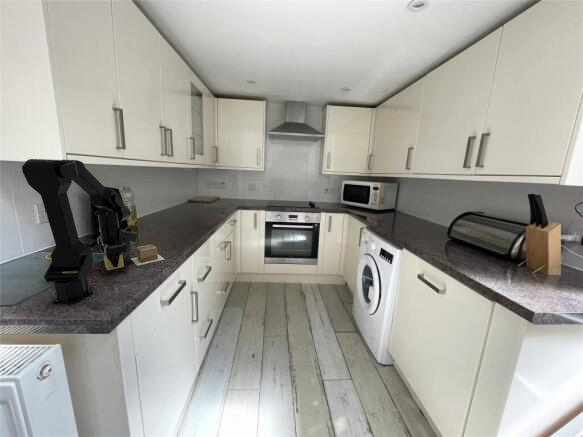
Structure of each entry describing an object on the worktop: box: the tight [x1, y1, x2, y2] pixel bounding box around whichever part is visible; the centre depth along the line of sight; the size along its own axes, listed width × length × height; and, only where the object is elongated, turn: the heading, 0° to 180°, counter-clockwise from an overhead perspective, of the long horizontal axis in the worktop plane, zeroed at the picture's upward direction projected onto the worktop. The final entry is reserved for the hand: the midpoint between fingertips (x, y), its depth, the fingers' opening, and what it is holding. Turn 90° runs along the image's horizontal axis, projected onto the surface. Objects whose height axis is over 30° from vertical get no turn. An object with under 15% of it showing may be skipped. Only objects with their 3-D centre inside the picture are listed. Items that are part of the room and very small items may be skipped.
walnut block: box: [136, 244, 158, 263], centre depth 97 cm, size 6×6×5 cm
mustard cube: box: [103, 253, 125, 271], centre depth 89 cm, size 5×5×5 cm
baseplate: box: [130, 254, 165, 266], centre depth 98 cm, size 10×10×1 cm
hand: (114, 264), depth 89 cm, fingers closed on mustard cube, 5 cm apart
